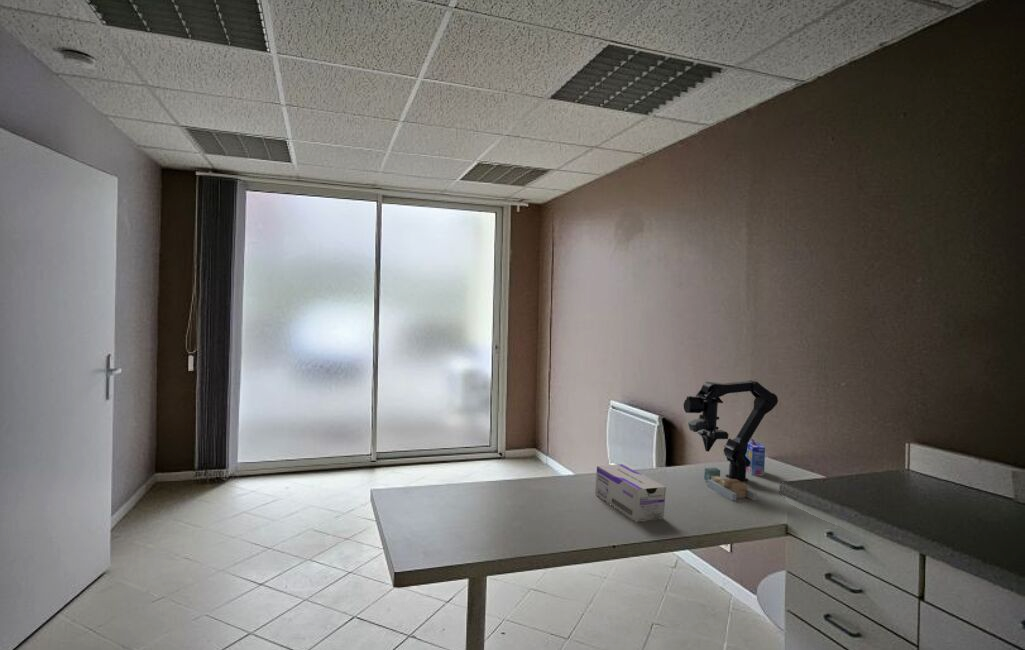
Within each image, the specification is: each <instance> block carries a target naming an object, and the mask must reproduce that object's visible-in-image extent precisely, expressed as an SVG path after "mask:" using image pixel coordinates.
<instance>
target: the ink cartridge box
mask: <svg viewBox="0 0 1025 650" xmlns="http://www.w3.org/2000/svg"><path fill="white" fill-rule="evenodd" d="M750 440H751V441H749V442H748V444H747V453H746V457H747V458H748V459H749V461H750V462H751V463H750V465H749V467H746V472H748V473H749V474H750V475H752V476H762V477H764V476H765V463H766V447H765V446H764V445H762V444H761V443H759V442H758V441H755V440H754V439H753V438H752V437H751V439H750Z"/></svg>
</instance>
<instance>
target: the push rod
mask: <svg viewBox="0 0 1025 650" xmlns="http://www.w3.org/2000/svg"><path fill="white" fill-rule="evenodd" d="M703 477H704V478H703V479H704V480H705V481H707V480H713V481H714V482H716V483H718V484H720V485H722V486H723V487H724V479H725V478H723V477H722V476H721V469H719V468H717V467H705V468H704V475H703Z"/></svg>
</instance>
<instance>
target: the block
mask: <svg viewBox="0 0 1025 650" xmlns="http://www.w3.org/2000/svg"><path fill="white" fill-rule="evenodd" d="M724 487H725V488H727V489H729V490H731V491H732V492H734V493H736V494H737V496H736V499H738V498H739V499H740V498H746V496H745V495H746V488H747V484H746V483H745V482H743V481H739V480H737V479H731V478H724Z"/></svg>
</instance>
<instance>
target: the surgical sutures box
mask: <svg viewBox="0 0 1025 650" xmlns="http://www.w3.org/2000/svg"><path fill="white" fill-rule="evenodd" d="M595 475H596V477H595V490H594V491H595V494H596V495H597V496H596V495H595V494H594V495H595V496H596V497H598V496H599V497H600V498H599V497H598V498H599V499H601V500H602V499H603V500H602V501H604V500H605V501H606V503H607V502H608V503H609V504H611V505H612V506H614V507H615V508H616V509H615V508H614V507H613V508H614V509H615V510H617V509H618V510H619V512H620V511H621V512H622V514H623V513H624V514H625V515H624V514H623V515H624V516H626V517H627V516H628V517H627V518H629V519H630V518H631V519H630V520H632V521H633V520H634V522H635V523H639V522H638V521H642V522H647V521H646V520H651V521H657V519H660V520H664V519H665V517H664V516H665V505H666V504H665V502H666V490H667V489H666V488H667V487H666V486H664V485H663V484H661V483H659V482H657V481H655V480H653V479H652V478H649V477H647V476H645V475H643V474H642V473H641V472H638V471H636V470H634V469H633V468H630V467H628V466H627V465H624V464H622V463H621V464H606V465H597V466H596V474H595ZM605 501H604V502H605ZM608 503H607V504H608ZM609 504H608V505H609ZM611 505H610V506H611ZM612 506H611V507H612ZM618 510H617V511H618ZM621 512H620V513H621Z"/></svg>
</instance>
